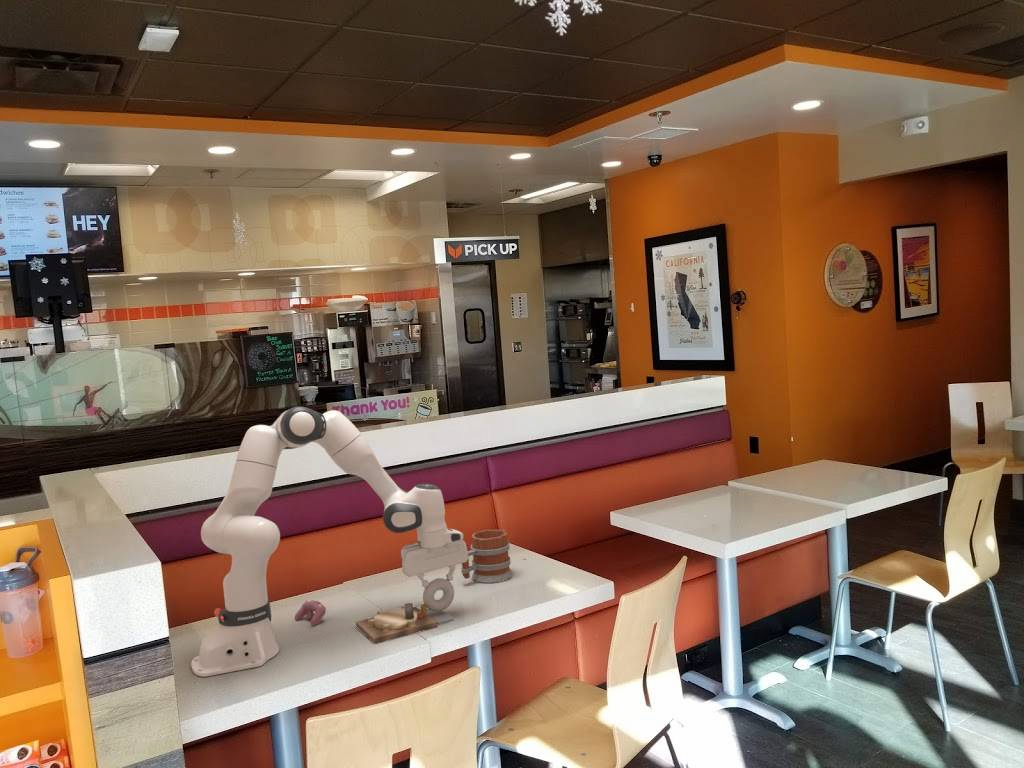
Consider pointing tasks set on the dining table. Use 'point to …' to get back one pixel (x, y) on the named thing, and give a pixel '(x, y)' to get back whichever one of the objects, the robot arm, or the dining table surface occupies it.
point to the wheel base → (380, 635)
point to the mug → (488, 557)
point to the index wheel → (396, 618)
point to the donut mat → (440, 616)
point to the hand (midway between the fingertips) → (438, 583)
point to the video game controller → (311, 612)
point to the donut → (431, 590)
